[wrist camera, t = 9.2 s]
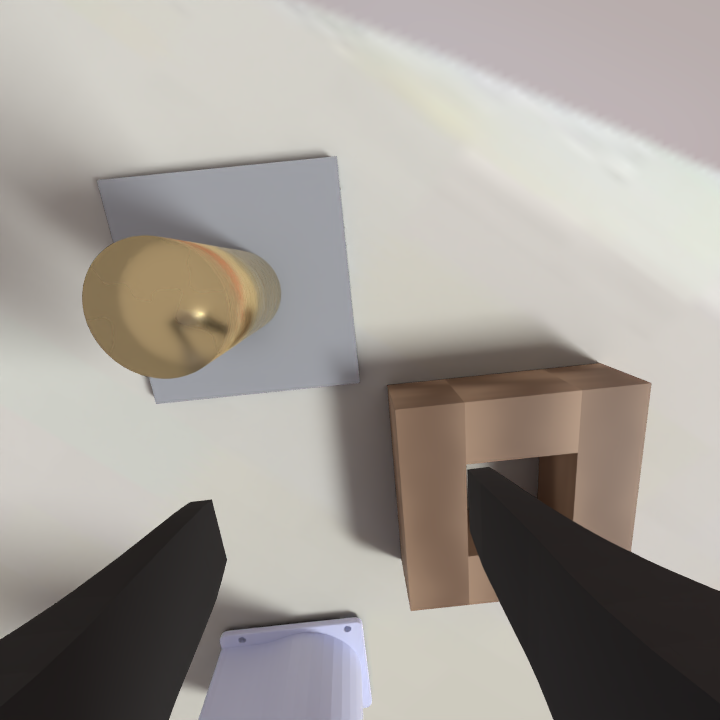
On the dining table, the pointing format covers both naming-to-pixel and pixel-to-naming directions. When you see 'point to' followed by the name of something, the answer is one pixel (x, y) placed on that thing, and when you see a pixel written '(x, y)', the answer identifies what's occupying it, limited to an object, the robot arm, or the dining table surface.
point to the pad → (273, 244)
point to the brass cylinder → (175, 302)
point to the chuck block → (507, 442)
